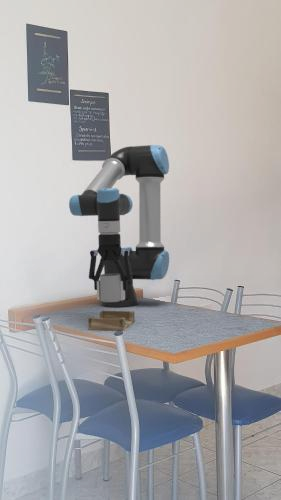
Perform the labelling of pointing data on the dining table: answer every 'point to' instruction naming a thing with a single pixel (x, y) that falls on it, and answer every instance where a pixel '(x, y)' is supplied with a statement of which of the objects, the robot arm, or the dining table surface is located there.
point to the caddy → (112, 320)
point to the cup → (110, 287)
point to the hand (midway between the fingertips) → (111, 299)
